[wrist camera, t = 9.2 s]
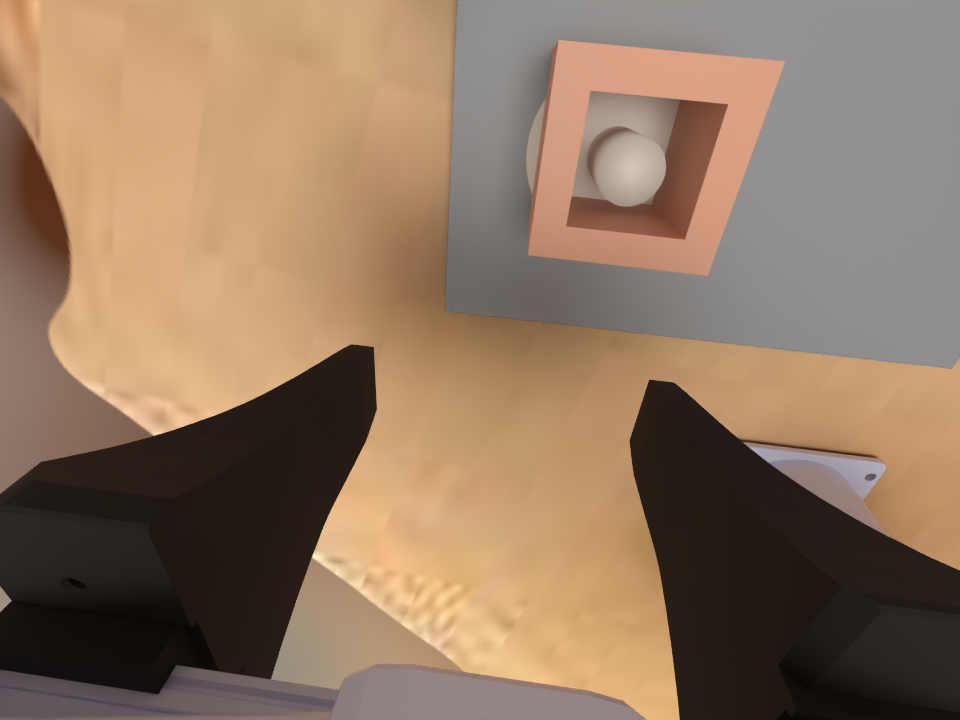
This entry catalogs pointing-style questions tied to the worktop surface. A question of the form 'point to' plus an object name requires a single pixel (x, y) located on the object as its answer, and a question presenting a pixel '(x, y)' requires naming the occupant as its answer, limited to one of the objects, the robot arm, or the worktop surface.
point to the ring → (689, 156)
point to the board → (763, 191)
